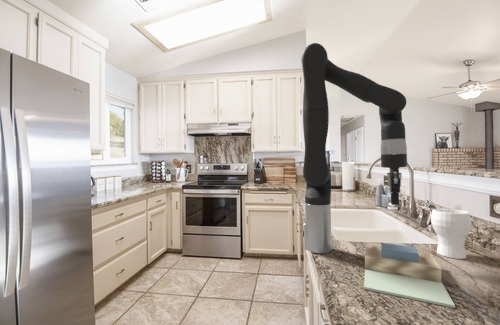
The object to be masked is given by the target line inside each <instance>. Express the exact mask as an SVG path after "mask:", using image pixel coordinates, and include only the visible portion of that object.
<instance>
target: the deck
mask: <svg viewBox="0 0 500 325" xmlns="http://www.w3.org/2000/svg"><path fill="white" fill-rule="evenodd" d="M418 253H419V263H417V262H410V261H403V260H396V259H389V258H383V257H382V253H381V246H378V245H369V244H365V251H364V270H365V269H366V270H371V271H377V272H383V273H389V274H395V275H400V276H406V277H412V278H418V279H424V280H429V281H435V282H441V283H442V268H441V267H440V265H439V263H438V261H436V260H437V259H436V258H435V257H434V255H433V254H432V253H431V252H427V251H426V252H425V251H418Z"/></svg>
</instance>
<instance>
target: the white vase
mask: <svg viewBox="0 0 500 325" xmlns="http://www.w3.org/2000/svg"><path fill="white" fill-rule="evenodd" d="M430 219H431V220H430V222H431V226H432V228H433V230H434V232H435V233H436V236H437V237H436V238H437V240H438V243H437V249H436V253H437V254H438V255H440V256H443V257H446V258H450V259H455V260H456V259H459V260H462V259H464V260H465V259H467V253H466V249H465V248H466V247H465V242H466V239H467V237H468V236H469V234H470V232H471V229H472V218H471V214H470V212H469V211H466V210H461V209H454V208H433V209H432V212H431V215H430Z"/></svg>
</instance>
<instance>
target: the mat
mask: <svg viewBox="0 0 500 325" xmlns="http://www.w3.org/2000/svg"><path fill="white" fill-rule="evenodd" d="M363 277H364V279H363V290H366V291H371V292H377V293H380V294H386V295H390V296H393V297H400V298H405V299H408V300H412V301H413V300H414V301H418V302H419V301H420V302H423V303H429V304H434V305H438V306H444V307H448V308H453V309H456V305H455V303H454V301H453V300H452V298H451V296H450V294H449V292H448V290H447V289H446V287H445V285H444V284H443V282H442V281H441V282H435V281H429V280H424V279H418V278H412V277H406V276H400V275H395V274H389V273H383V272H377V271H371V270H366V269H365V268H364V276H363Z"/></svg>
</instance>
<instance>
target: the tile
mask: <svg viewBox="0 0 500 325" xmlns="http://www.w3.org/2000/svg"><path fill="white" fill-rule="evenodd" d="M380 247H381V253H382V257H383V258H389V259H396V260H403V261H410V262H417V263H419V253H418V252H419V251H418V250H417V248H416V246H411V245H410V246H409V245H401V244H395V243H386V242H385V243H384V242H381V243H380Z"/></svg>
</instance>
